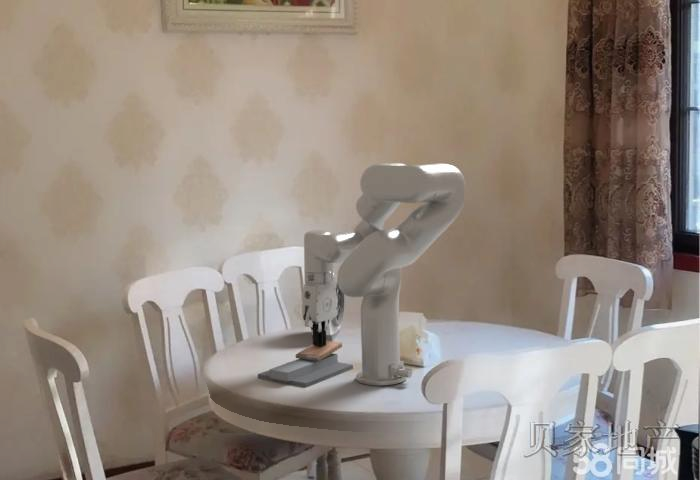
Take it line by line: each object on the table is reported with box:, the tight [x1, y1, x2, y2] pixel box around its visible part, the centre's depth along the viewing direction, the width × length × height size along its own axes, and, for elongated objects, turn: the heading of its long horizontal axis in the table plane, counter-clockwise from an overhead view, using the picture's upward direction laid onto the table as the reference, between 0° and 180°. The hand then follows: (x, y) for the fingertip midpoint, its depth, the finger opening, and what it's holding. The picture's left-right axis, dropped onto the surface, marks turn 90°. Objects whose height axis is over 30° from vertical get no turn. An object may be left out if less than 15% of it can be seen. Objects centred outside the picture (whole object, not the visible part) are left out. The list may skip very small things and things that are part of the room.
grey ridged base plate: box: [257, 352, 354, 388], centre depth 217 cm, size 16×20×3 cm
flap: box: [295, 340, 343, 361], centre depth 221 cm, size 7×11×1 cm, turn 144°
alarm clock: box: [311, 272, 346, 341], centre depth 256 cm, size 18×8×20 cm, turn 168°
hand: (319, 345), depth 223 cm, fingers closed
